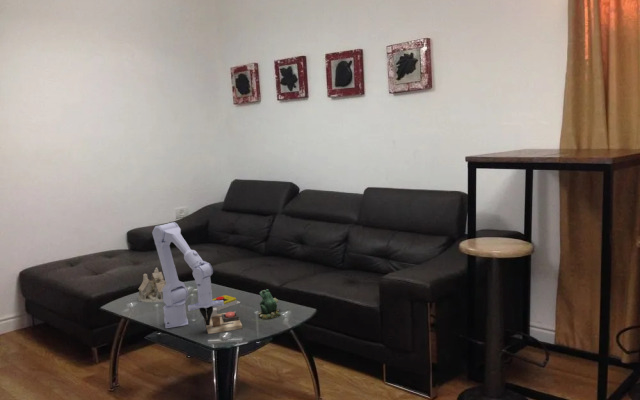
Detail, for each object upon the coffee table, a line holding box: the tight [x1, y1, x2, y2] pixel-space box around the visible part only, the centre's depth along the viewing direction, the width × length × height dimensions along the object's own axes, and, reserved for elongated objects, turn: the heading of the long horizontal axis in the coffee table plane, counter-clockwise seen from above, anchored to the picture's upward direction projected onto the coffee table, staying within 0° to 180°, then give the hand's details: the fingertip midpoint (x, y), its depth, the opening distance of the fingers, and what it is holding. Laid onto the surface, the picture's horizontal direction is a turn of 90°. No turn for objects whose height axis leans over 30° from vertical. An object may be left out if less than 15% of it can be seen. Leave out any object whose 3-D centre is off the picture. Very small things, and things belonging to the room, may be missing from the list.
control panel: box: [203, 311, 243, 335], centre depth 234 cm, size 14×18×3 cm
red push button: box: [224, 311, 235, 318], centre depth 235 cm, size 4×4×2 cm
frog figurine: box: [251, 288, 281, 323], centre depth 241 cm, size 18×18×12 cm
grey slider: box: [211, 308, 218, 318], centre depth 238 cm, size 3×3×4 cm
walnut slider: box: [212, 315, 221, 327], centre depth 228 cm, size 3×3×4 cm
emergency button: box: [212, 294, 241, 312], centre depth 258 cm, size 9×4×15 cm
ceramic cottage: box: [137, 267, 166, 303], centre depth 273 cm, size 16×16×15 cm
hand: (207, 324), depth 227 cm, fingers closed
